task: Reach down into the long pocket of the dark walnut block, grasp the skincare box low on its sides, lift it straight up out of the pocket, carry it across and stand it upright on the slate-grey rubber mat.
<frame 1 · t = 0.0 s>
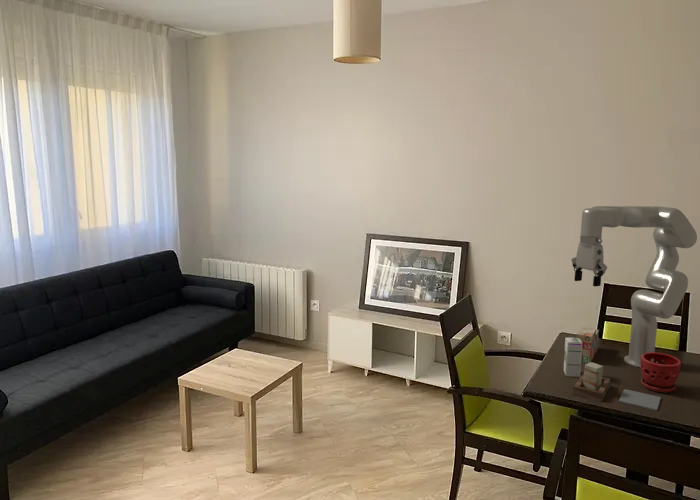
hand: (587, 283, 214), 37 cm above the table, tool pointing down, fingers open, 9 cm apart
brown printed cardboard box: (586, 355, 242), on the table
pocket block: (591, 390, 204), on the table
plant pot: (657, 388, 207), on the table
mat: (639, 400, 196), on the table
syrup box: (571, 374, 219), on the table
skincare box: (591, 390, 204), resting in pocket block
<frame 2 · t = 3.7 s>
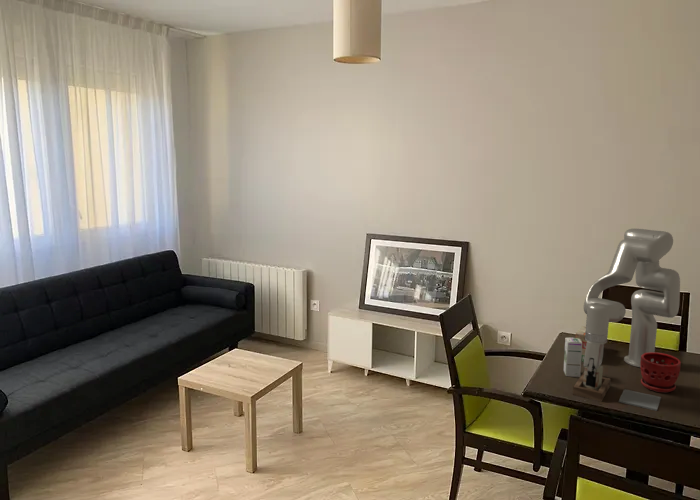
hand: (592, 382, 204), 3 cm above the table, tool pointing down, fingers closed on skincare box, 5 cm apart
skincare box: (591, 390, 204), resting in pocket block, touching gripper
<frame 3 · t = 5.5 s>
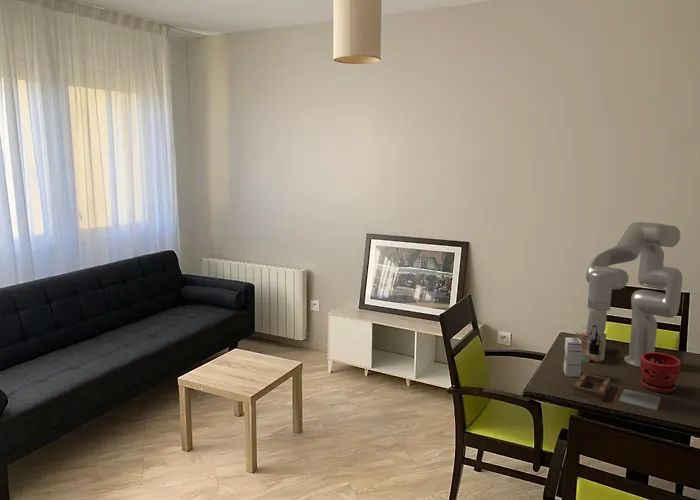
hand: (595, 351, 202), 15 cm above the table, tool pointing down, fingers closed on skincare box, 5 cm apart
skincare box: (595, 359, 202), point 12 cm above the table, touching gripper
everything else where it was.
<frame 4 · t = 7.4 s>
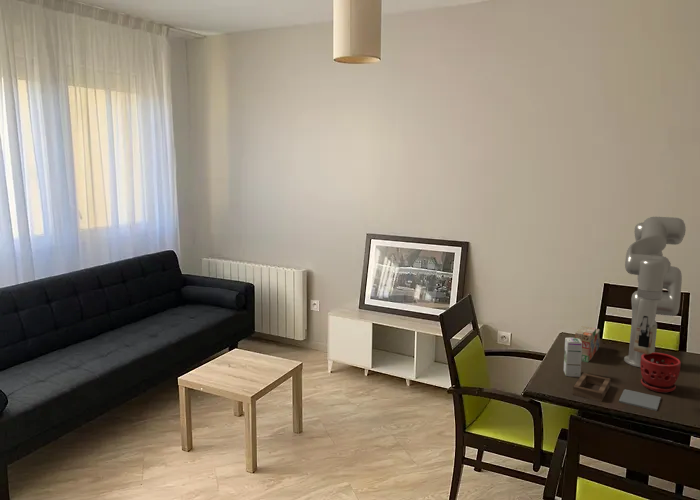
hand: (644, 343, 193), 21 cm above the table, tool pointing down, fingers closed on skincare box, 5 cm apart
skincare box: (643, 352, 193), point 18 cm above the table, touching gripper
everything else where it was.
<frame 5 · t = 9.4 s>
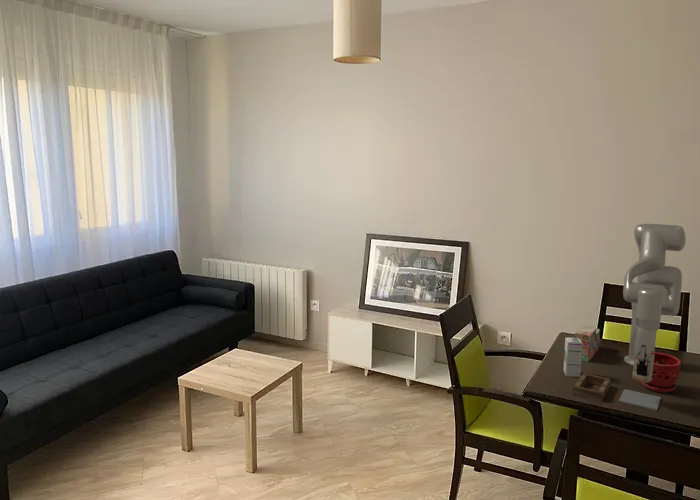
hand: (642, 372, 194), 11 cm above the table, tool pointing down, fingers closed on skincare box, 5 cm apart
skincare box: (641, 380, 194), point 8 cm above the table, touching gripper
when the fingers open (5 cm above the table, at t = 11.0 s): skincare box stays where it is, resting on mat.
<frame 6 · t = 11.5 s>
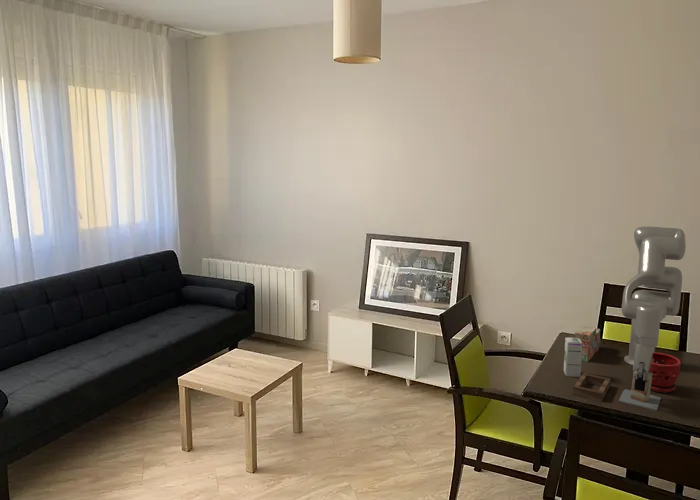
hand: (641, 385, 195), 6 cm above the table, tool pointing down, fingers open, 9 cm apart
skincare box: (639, 399, 196), resting on mat
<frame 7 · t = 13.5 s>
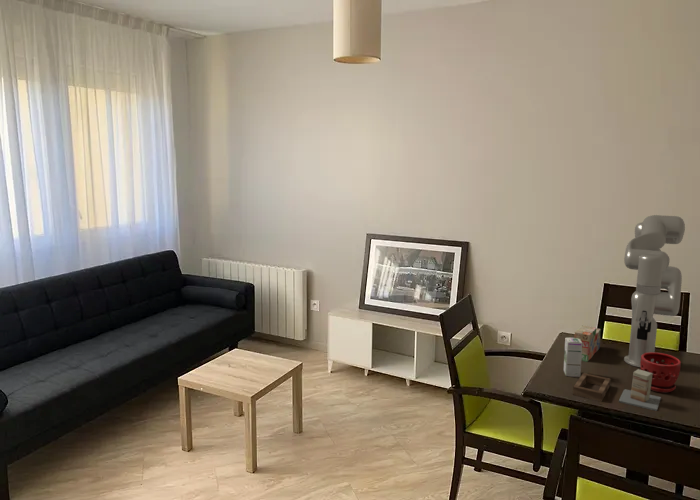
hand: (643, 335, 195), 23 cm above the table, tool pointing down, fingers open, 9 cm apart
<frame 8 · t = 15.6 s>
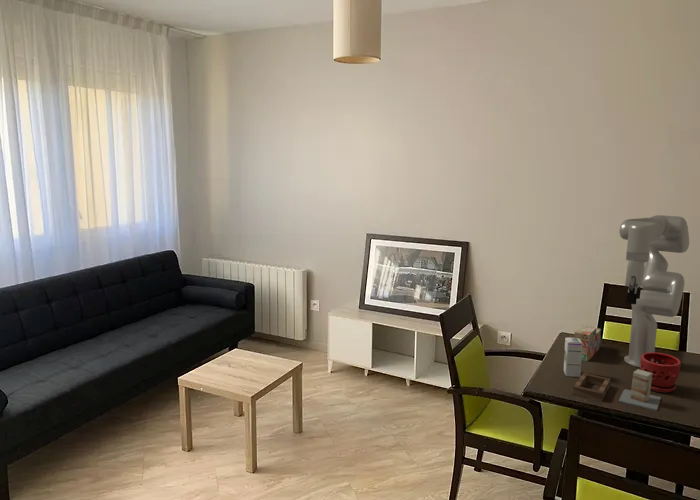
hand: (633, 300, 207), 32 cm above the table, tool pointing down, fingers open, 9 cm apart
at the end: skincare box inside the target area on the mat (0.1 cm from its centre), point 0.4 cm above the mat's base; skincare box tilted 0°; the gripper is holding nothing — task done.
